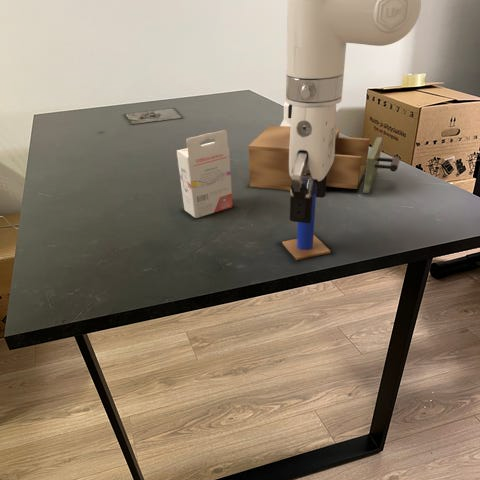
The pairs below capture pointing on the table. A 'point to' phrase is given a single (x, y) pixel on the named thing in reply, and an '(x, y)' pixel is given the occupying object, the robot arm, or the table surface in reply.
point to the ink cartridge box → (205, 174)
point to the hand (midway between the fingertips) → (308, 208)
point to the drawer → (357, 163)
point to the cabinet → (271, 159)
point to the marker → (307, 225)
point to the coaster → (302, 254)
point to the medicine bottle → (287, 115)
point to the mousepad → (153, 116)
